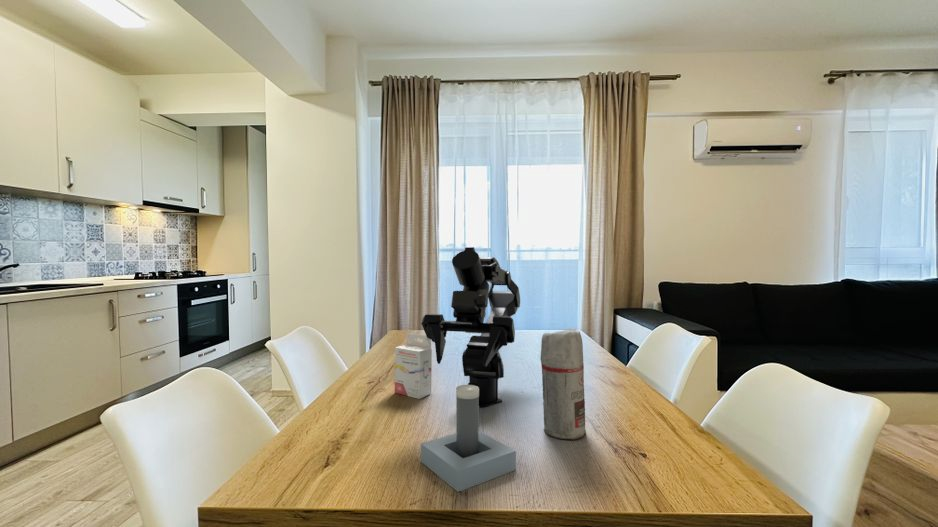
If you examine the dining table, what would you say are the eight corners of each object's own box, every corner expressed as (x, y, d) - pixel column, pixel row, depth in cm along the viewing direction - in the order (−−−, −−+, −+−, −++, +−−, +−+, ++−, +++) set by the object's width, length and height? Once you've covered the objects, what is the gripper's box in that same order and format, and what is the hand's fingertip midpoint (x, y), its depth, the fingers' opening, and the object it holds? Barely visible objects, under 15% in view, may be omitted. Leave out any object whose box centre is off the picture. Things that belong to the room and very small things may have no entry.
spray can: (560, 444, 73) (561, 334, 73) (533, 428, 80) (533, 327, 80) (595, 435, 77) (595, 330, 77) (566, 421, 84) (566, 325, 84)
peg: (464, 458, 68) (464, 383, 68) (483, 464, 66) (483, 387, 66) (451, 467, 65) (451, 388, 65) (470, 473, 63) (470, 393, 63)
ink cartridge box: (393, 393, 102) (393, 335, 102) (406, 388, 106) (406, 332, 106) (419, 399, 97) (420, 338, 98) (432, 394, 102) (432, 335, 102)
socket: (474, 444, 73) (474, 427, 73) (515, 469, 64) (515, 450, 64) (420, 461, 66) (420, 443, 66) (458, 492, 57) (458, 471, 57)
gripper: (424, 275, 85) (404, 337, 74) (513, 276, 80) (505, 342, 70) (436, 308, 92) (419, 369, 82) (517, 311, 88) (511, 375, 77)
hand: (461, 364), depth 77 cm, fingers open, 9 cm apart
